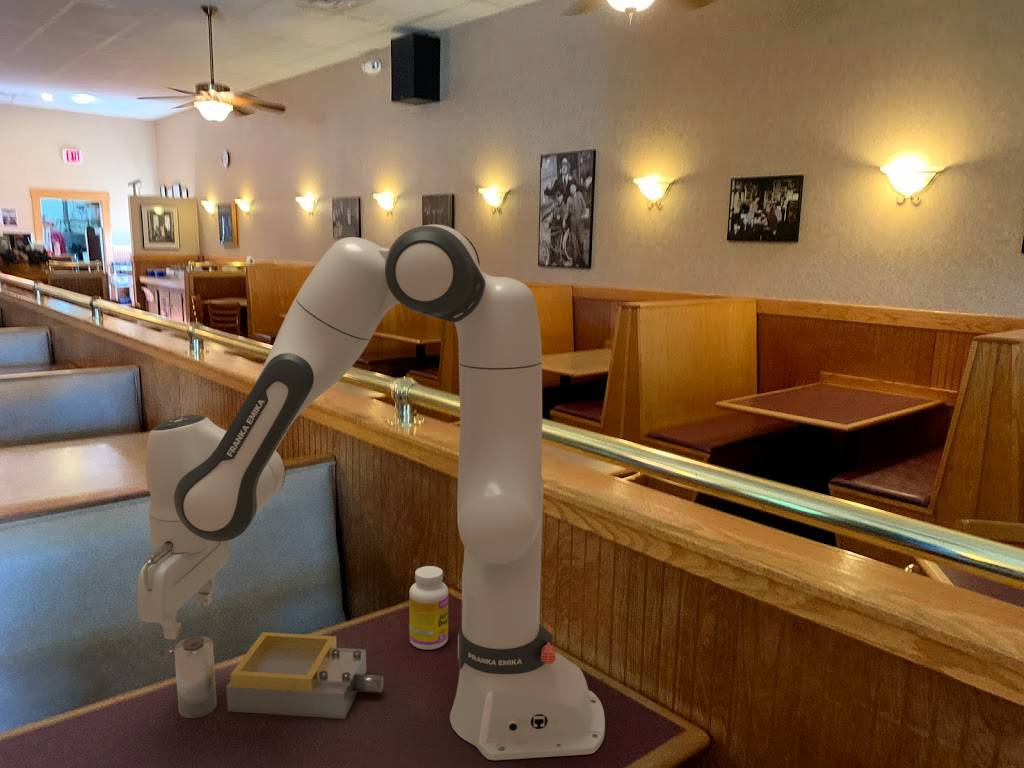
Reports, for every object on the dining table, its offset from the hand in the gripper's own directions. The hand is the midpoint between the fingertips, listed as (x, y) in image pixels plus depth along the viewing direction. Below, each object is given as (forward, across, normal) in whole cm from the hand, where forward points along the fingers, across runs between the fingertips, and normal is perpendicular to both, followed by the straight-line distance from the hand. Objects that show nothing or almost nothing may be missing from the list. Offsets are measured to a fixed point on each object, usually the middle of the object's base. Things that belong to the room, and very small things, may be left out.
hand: (189, 619), depth 112 cm
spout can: (+14, 0, +1) cm, 14 cm away
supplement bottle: (+14, +22, -31) cm, 40 cm away
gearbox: (+14, +5, -16) cm, 22 cm away
